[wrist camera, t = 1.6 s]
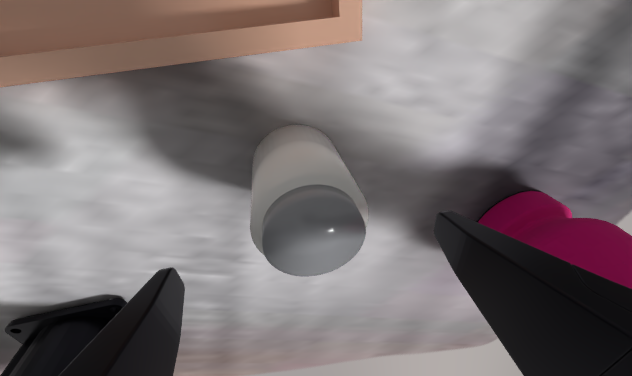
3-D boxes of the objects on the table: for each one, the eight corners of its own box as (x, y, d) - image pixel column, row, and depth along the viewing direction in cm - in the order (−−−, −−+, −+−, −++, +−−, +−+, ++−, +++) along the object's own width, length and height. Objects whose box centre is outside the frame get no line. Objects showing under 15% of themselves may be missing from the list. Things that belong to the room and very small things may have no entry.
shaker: (262, 206, 15) (264, 293, 10) (242, 132, 12) (233, 202, 8) (338, 192, 15) (374, 269, 10) (334, 118, 13) (379, 175, 8)
